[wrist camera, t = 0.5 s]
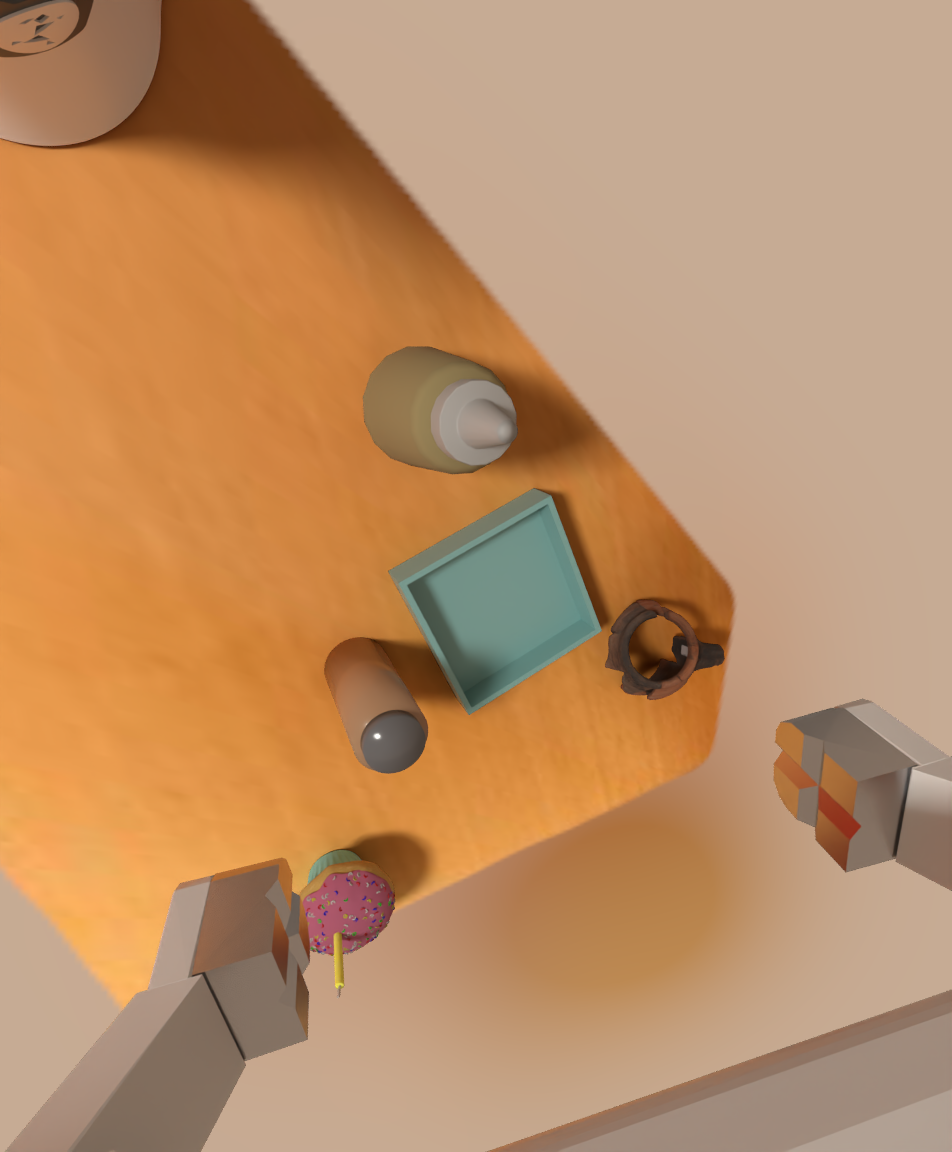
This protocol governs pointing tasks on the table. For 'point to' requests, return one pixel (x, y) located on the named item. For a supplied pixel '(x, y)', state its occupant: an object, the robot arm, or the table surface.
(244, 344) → the table surface
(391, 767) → the shaker
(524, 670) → the tray
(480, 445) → the squeeze bottle
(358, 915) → the cupcake
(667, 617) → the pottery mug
